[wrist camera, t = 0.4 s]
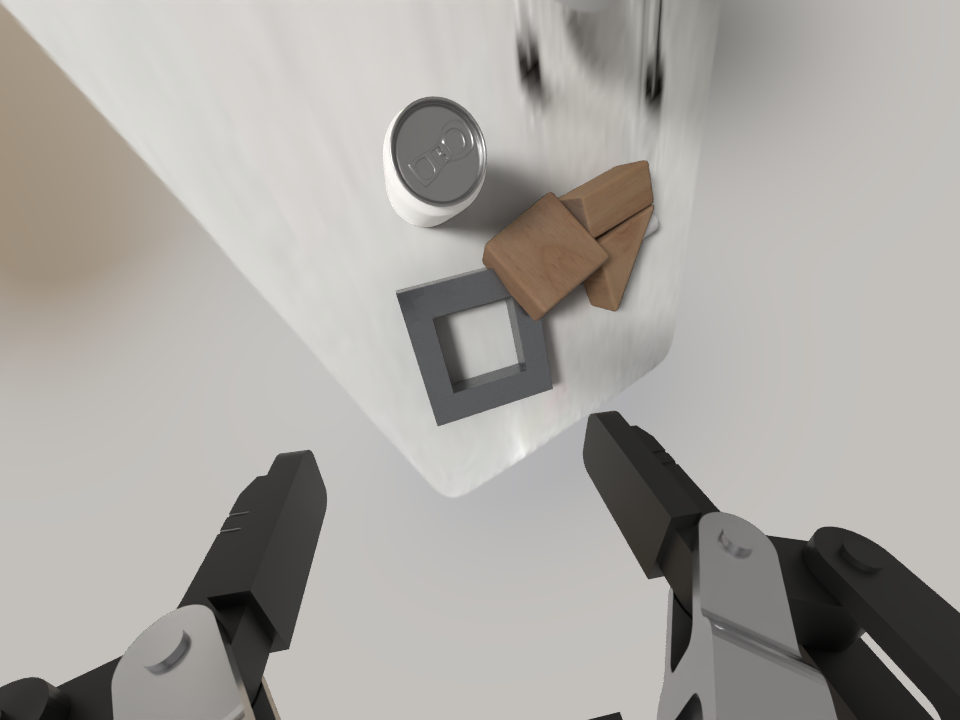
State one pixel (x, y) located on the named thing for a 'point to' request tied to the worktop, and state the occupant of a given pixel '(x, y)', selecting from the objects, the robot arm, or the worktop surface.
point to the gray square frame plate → (489, 387)
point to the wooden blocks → (577, 241)
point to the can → (433, 161)
